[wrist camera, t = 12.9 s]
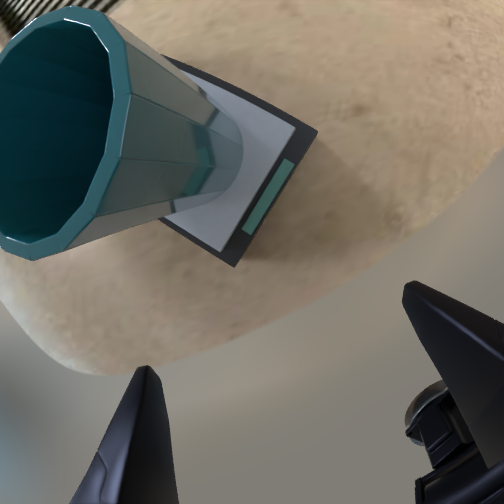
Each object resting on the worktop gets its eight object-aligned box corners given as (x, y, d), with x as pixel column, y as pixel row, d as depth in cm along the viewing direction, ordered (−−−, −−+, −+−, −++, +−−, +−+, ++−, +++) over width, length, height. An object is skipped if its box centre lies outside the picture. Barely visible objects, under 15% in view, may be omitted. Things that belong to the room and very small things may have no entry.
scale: (316, 135, 19) (318, 130, 17) (239, 260, 22) (232, 270, 20) (170, 62, 19) (156, 50, 17) (109, 177, 22) (90, 178, 20)
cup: (252, 104, 17) (163, -16, 4) (234, 214, 19) (112, 287, 6) (150, 97, 18) (-10, 37, 5) (135, 198, 19) (-36, 235, 7)
